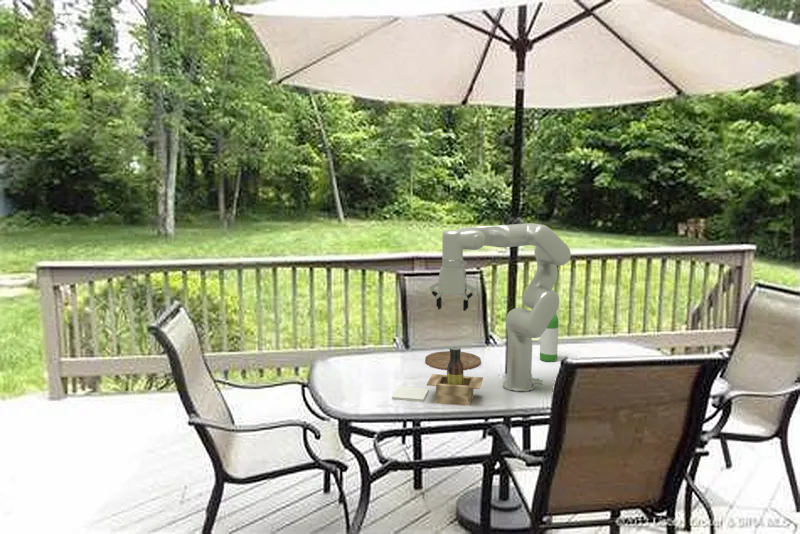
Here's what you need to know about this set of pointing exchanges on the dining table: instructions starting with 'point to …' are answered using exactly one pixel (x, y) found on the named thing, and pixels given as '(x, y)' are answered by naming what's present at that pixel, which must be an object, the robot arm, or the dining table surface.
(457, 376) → the sauce bottle
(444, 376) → the carton
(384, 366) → the dining table surface
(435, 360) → the trivet
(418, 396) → the mat
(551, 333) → the wine bottle
